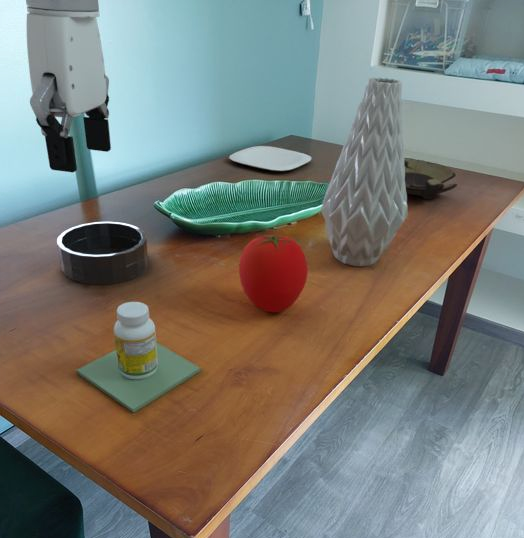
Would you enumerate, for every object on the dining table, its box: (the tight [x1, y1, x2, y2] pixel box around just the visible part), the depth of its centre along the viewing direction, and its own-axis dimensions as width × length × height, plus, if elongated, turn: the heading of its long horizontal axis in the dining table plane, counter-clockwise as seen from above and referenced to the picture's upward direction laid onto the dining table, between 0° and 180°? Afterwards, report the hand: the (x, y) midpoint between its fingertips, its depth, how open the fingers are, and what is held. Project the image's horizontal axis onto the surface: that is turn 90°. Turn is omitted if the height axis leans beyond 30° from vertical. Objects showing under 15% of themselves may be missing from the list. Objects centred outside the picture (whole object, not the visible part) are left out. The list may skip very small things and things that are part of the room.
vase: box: [320, 77, 409, 268], centre depth 100 cm, size 17×17×33 cm
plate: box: [228, 145, 312, 172], centre depth 161 cm, size 22×22×2 cm
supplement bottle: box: [113, 301, 158, 379], centre depth 71 cm, size 5×5×10 cm
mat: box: [76, 341, 201, 413], centre depth 74 cm, size 12×12×1 cm
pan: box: [56, 221, 149, 286], centre depth 99 cm, size 16×16×6 cm
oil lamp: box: [404, 157, 458, 200], centre depth 143 cm, size 22×30×8 cm
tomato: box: [238, 232, 308, 313], centre depth 87 cm, size 11×11×13 cm
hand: (82, 159), depth 68 cm, fingers open, 9 cm apart
